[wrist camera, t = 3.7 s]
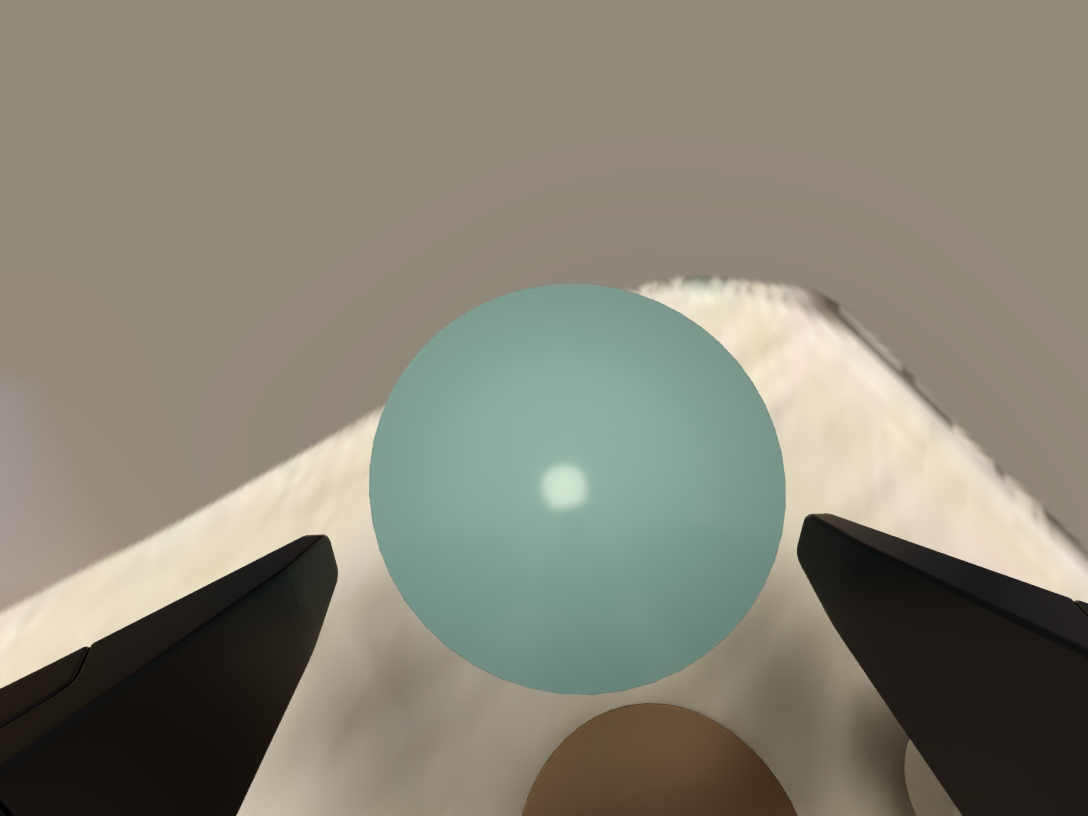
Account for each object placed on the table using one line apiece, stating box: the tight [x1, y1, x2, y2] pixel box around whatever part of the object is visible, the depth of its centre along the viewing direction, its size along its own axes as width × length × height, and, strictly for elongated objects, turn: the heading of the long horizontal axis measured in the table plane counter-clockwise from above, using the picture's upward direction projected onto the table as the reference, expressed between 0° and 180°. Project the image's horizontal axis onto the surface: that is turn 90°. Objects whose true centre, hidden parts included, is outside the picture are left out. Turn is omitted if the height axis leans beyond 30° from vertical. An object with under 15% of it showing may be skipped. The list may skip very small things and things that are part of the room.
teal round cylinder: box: [369, 284, 786, 695], centre depth 13 cm, size 6×6×12 cm
